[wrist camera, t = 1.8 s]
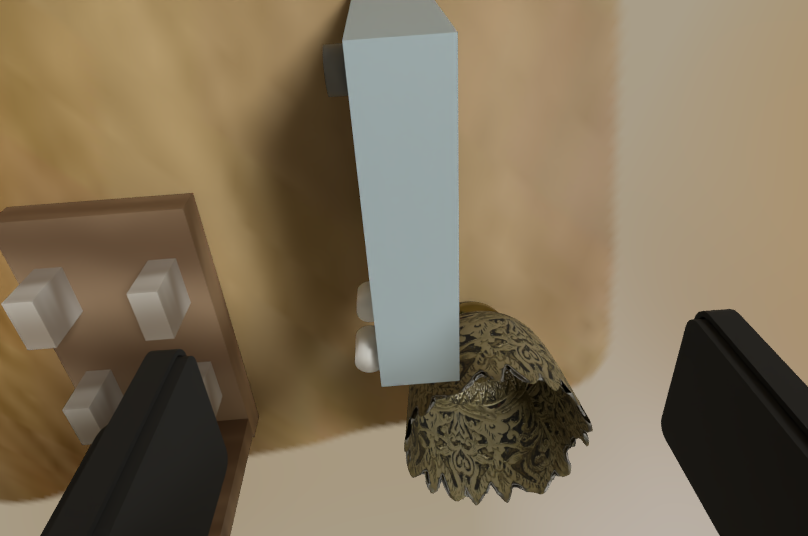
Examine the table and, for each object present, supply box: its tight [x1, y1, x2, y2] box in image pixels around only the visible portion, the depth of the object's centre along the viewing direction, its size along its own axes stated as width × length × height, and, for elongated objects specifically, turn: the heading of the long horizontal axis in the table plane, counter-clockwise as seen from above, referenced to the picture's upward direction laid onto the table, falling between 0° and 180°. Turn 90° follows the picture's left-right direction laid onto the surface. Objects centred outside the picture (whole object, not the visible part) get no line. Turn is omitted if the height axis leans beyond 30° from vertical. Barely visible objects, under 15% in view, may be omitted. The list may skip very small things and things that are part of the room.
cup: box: [404, 302, 593, 505], centre depth 25 cm, size 8×7×8 cm
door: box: [323, 0, 460, 387], centre depth 18 cm, size 10×3×10 cm, turn 3°
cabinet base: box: [0, 193, 259, 536], centre depth 21 cm, size 14×8×16 cm, turn 3°
